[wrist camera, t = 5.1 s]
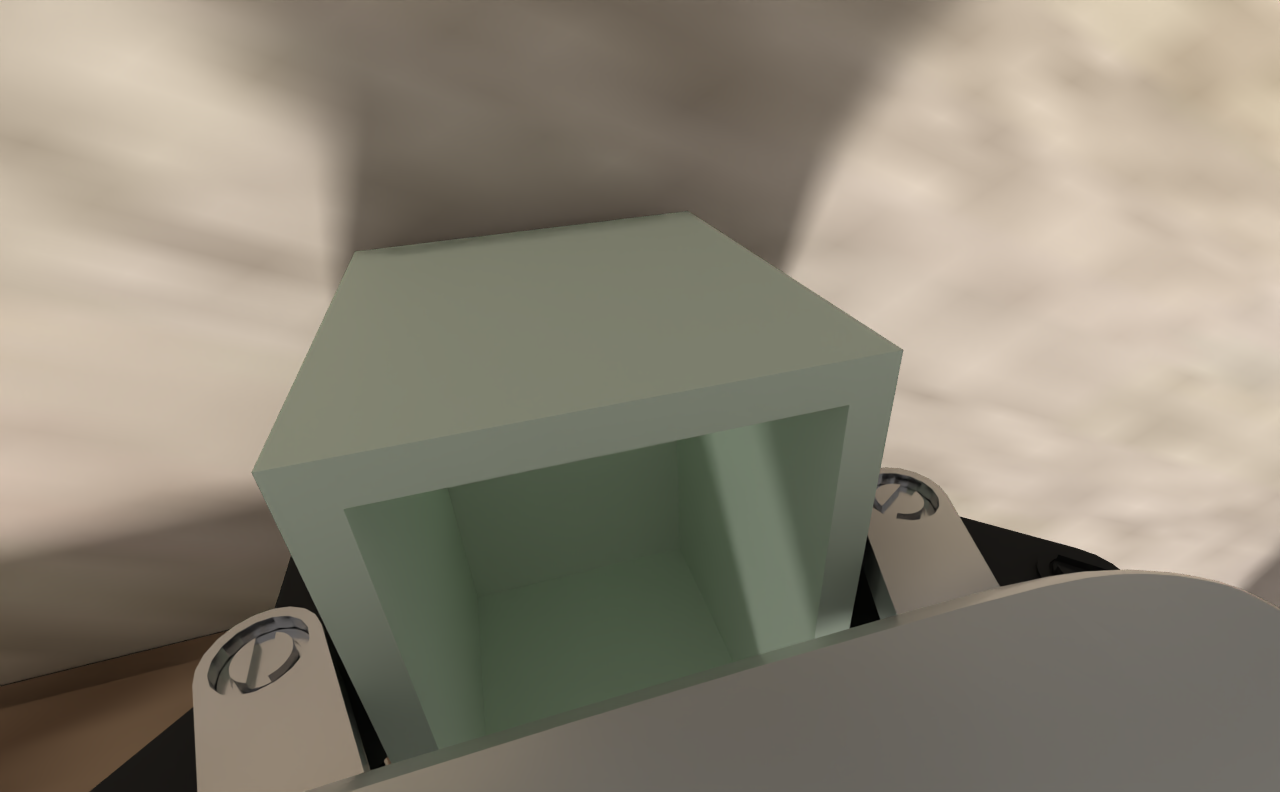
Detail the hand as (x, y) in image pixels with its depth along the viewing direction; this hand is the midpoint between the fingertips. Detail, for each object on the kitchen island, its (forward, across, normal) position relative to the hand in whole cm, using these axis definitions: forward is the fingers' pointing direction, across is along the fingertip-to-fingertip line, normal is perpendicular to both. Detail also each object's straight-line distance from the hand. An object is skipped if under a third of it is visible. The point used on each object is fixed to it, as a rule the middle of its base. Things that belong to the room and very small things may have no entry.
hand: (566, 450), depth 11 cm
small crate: (+1, 0, 0) cm, 1 cm away
